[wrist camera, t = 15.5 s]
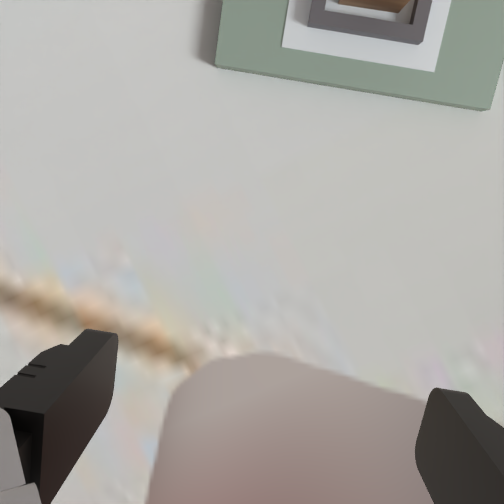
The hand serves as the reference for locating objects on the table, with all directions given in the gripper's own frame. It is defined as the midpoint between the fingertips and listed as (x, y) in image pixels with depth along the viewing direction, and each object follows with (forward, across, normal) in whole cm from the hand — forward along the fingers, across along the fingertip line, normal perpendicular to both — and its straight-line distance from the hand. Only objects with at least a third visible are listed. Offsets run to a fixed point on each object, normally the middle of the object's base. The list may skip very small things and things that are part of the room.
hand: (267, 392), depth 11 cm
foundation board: (+28, -5, -20) cm, 35 cm away
